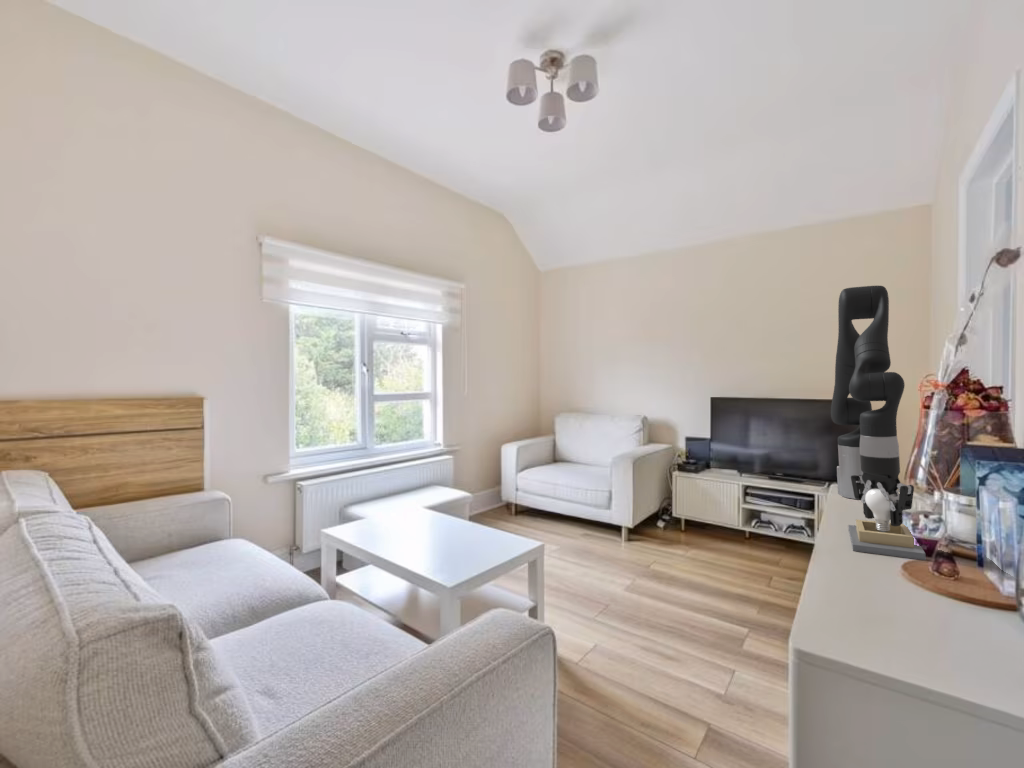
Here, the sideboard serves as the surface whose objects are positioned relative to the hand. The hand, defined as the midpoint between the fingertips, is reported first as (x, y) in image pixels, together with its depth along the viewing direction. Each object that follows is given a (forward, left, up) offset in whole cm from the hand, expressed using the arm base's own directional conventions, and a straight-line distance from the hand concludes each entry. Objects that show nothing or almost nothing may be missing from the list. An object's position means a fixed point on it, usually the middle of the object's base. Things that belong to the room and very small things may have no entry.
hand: (882, 521), depth 112 cm
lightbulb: (0, 0, -3) cm, 3 cm away
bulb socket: (0, 0, -6) cm, 6 cm away
